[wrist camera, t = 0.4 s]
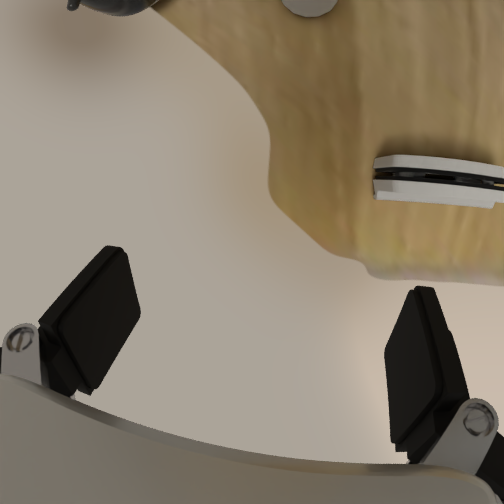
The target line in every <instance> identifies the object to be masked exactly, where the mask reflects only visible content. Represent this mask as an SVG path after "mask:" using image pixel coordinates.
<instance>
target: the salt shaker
mask: <svg viewBox="0 0 504 504" xmlns="http://www.w3.org/2000/svg"><path fill="white" fill-rule="evenodd" d="M282 2H283V4H284V6H286V7H287V8H288V9H289V10H290V11H292V12H293V13H295V14H298V15H301V16H304V17H317V16H321V15H323V14H325V13H327V12H329V11H331V9H332V8H333V7H334V5H335V4H336V3H337V0H282Z"/></svg>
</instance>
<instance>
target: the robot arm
mask: <svg viewBox="0 0 504 504" xmlns="http://www.w3.org/2000/svg"><path fill="white" fill-rule="evenodd" d="M140 314H141V311H140V306H139V302H138V298H137V294H136V290H135V286H134V282H133V277H132V273H131V269H130V264H129V260H128V256H127V253H125V252H124V250H123V249H122V248H121V247H115V246H105V247H104V248H103V249H102V250H101V251H100V252H99V253H98V254H97V255H96V256H95V257H94V258H93V259H92V260H91V261H90V262H89V264H88V265H87V266H86V267H85V268H84V269H83V270H82V271H81V272H80V273H79V274H78V275H77V277H76V278H75V279H74V280H73V281H72V282H71V283H70V284H69V285H68V287H67V288H66V289H65V290H64V291H63V292H62V293H61V295H60V296H59V297H58V298H57V299H56V300H55V302H54V303H53V304H52V305H51V306H50V307H49V309H48V310H47V311H46V312H45V313H44V314H43V316H42V317H41V318H40V319H39V321H38V322H39V324H40V327H39V328H38V329H37V328H36V327H35V326H34V325H32V324H28V323H24V324H20V325H17V326H15V327H14V328H12V329H11V330H10V331H9V332H8V333H7V334H6V336H5V338H4V340H3V344H2V347H0V504H504V437H503V436H502V435H501V434H499V433H498V432H497V430H498V426H499V424H498V416H497V413H496V411H495V410H494V408H493V407H492V406H491V405H490V404H489V403H488V402H486V401H484V400H482V399H478V398H474V399H470V397H469V393H468V389H467V385H466V381H465V377H464V373H463V369H462V366H461V362H460V359H459V355H458V352H457V348H456V345H455V342H454V339H453V336H452V333H451V332H450V331H449V330H448V327H447V324H446V321H445V318H444V315H443V312H442V309H441V306H440V304H439V301H438V298H437V295H436V292H435V290H434V288H432V287H425V286H416V287H415V288H414V290H410V291H409V292H408V294H407V297H406V300H405V302H404V305H403V307H402V310H401V312H400V315H399V317H398V319H397V322H396V324H395V326H394V329H393V331H392V333H391V336H390V338H389V340H388V343H387V345H386V347H385V352H384V359H385V368H386V378H387V388H388V401H389V417H390V437H391V442H392V443H395V450H396V452H407V458H408V459H409V460H408V462H407V463H406V464H364V463H344V462H328V461H315V460H304V459H295V458H286V457H279V456H272V455H266V454H260V453H254V452H247V451H242V450H237V449H232V448H226V447H222V446H217V445H213V444H209V443H204V442H200V441H196V440H192V439H188V438H184V437H180V436H177V435H173V434H169V433H166V432H163V431H159V430H156V429H153V428H150V427H146V426H143V425H140V424H137V423H134V422H131V421H128V420H125V419H122V418H120V417H117V416H114V415H111V414H109V413H106V412H103V411H101V410H98V409H96V408H93V407H91V406H88V405H86V404H83V403H81V402H79V401H76V400H75V395H74V393H75V392H76V390H77V389H78V391H80V392H83V393H85V394H87V395H91V394H92V392H93V390H94V389H97V388H98V387H99V386H100V384H101V382H102V381H103V379H104V377H105V376H106V374H107V372H108V370H109V369H110V367H111V365H112V363H113V362H114V360H115V358H116V357H117V355H118V353H119V352H120V350H121V348H122V347H123V345H124V343H125V341H126V340H127V338H128V337H129V335H130V333H131V332H132V330H133V328H134V327H135V325H136V323H137V322H138V320H139V318H140Z"/></svg>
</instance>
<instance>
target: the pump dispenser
mask: <svg viewBox="0 0 504 504" xmlns="http://www.w3.org/2000/svg"><path fill="white" fill-rule="evenodd" d="M158 1H159V0H68V4H67V9H68V10H69V11H74V10H76V9H78V7H79V4H81V5H83V6H85V7H87V8H90V9H92V10H94V11H97V12H101V13H103V14H107V15H112V16H129V15H133V14H135V13H138V12H141V11H142V10H144V9H146V8H148V7H150V6H152V5H154V4H155V3H156V2H158Z"/></svg>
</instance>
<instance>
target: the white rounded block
mask: <svg viewBox="0 0 504 504" xmlns="http://www.w3.org/2000/svg"><path fill="white" fill-rule="evenodd" d="M373 168H375V169H376V172H383V173H392V174H393V175H394V176H376V180H373V184H374V190H375V195H373V196H374V199H376V200H393V201H409V202H424V203H437V204H449V205H460V206H471V207H481V208H492V207H493V205H494V203H495V202H501V203H504V187H499V186H494V184H504V167H501V166H496V165H490V164H485V163H479V162H472V161H466V160H458V159H450V158H440V157H429V156H415V155H390V156H385V157H379V158H375V161H374V165H373ZM425 174H436V175H446V176H453V177H454V181H452V180H442V179H431V178H425ZM481 180H482V184H480V183H481Z"/></svg>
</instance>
